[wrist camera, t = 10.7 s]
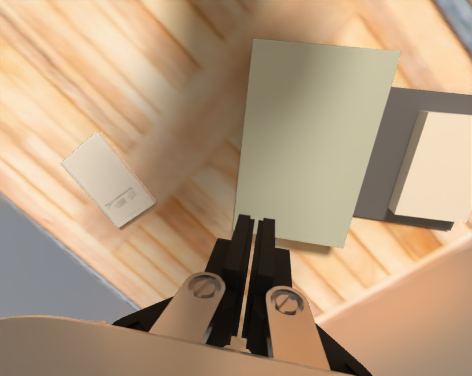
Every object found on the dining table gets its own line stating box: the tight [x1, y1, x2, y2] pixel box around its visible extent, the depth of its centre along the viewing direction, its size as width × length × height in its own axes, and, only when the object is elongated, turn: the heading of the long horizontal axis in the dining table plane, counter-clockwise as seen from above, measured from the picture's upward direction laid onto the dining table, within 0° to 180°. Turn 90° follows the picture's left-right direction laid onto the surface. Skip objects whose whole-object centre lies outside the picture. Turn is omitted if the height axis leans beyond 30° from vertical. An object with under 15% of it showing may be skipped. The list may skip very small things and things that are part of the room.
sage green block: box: [233, 38, 402, 248], centre depth 31 cm, size 22×14×4 cm, turn 174°
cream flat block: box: [388, 111, 472, 223], centre depth 30 cm, size 12×8×2 cm, turn 176°
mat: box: [353, 87, 472, 230], centre depth 31 cm, size 16×13×1 cm
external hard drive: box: [60, 131, 157, 228], centre depth 39 cm, size 2×8×12 cm
